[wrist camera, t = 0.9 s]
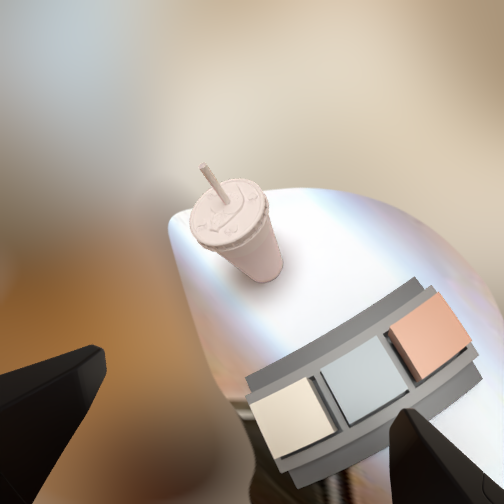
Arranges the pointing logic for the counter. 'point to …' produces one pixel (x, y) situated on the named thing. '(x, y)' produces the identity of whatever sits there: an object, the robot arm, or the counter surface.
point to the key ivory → (293, 418)
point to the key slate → (364, 379)
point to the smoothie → (237, 226)
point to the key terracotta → (428, 336)
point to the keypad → (378, 421)
